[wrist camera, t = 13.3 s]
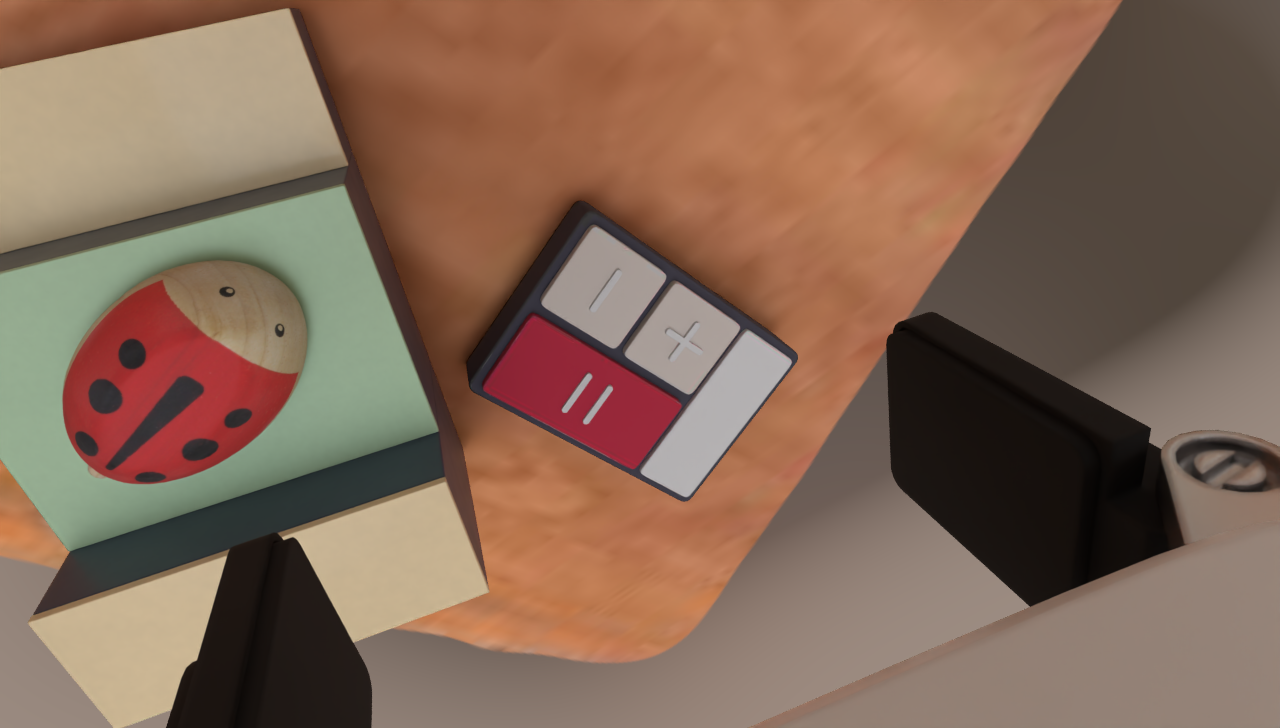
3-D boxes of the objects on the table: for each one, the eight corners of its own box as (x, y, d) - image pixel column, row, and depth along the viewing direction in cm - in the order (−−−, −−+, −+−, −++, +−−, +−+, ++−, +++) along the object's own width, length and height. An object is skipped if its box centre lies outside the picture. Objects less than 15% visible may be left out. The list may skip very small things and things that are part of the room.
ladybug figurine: (352, 320, 29) (348, 356, 26) (200, 499, 30) (179, 553, 27) (185, 209, 26) (158, 235, 23) (21, 415, 27) (-25, 466, 24)
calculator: (592, 210, 35) (808, 361, 41) (575, 194, 39) (775, 335, 45) (465, 395, 37) (691, 512, 43) (461, 362, 40) (669, 474, 47)
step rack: (-99, 93, 28) (-376, 136, 18) (299, 8, 31) (257, 4, 21) (186, 542, 39) (115, 731, 29) (463, 450, 42) (489, 592, 32)
